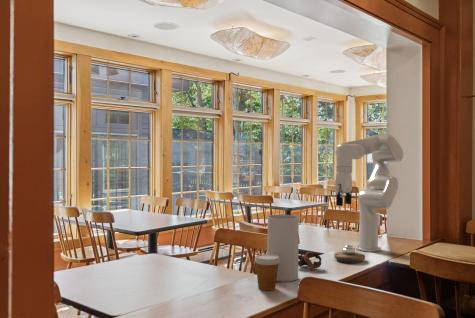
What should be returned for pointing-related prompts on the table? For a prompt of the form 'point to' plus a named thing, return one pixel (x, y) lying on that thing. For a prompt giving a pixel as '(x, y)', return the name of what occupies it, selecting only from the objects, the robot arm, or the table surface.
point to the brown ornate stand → (306, 261)
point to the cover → (348, 250)
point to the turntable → (349, 257)
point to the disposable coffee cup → (267, 271)
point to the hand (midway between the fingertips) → (343, 204)
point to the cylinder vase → (284, 245)
